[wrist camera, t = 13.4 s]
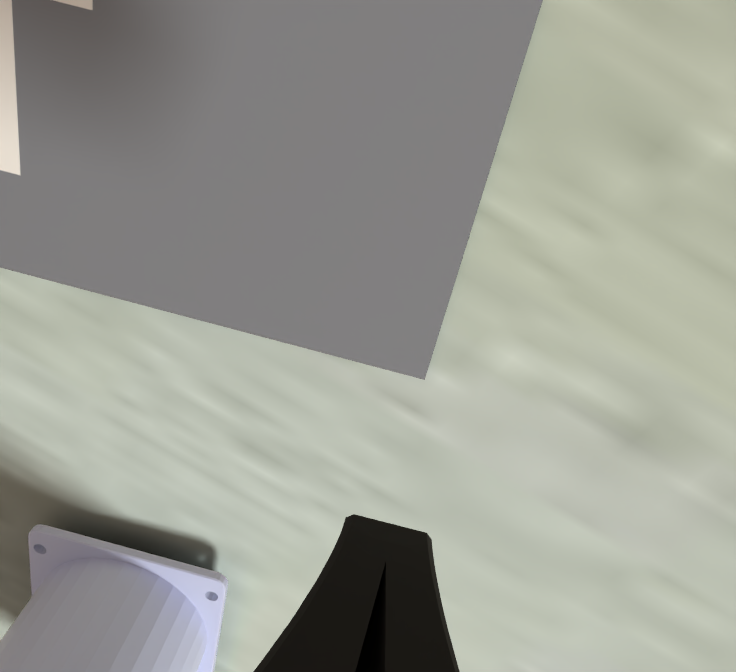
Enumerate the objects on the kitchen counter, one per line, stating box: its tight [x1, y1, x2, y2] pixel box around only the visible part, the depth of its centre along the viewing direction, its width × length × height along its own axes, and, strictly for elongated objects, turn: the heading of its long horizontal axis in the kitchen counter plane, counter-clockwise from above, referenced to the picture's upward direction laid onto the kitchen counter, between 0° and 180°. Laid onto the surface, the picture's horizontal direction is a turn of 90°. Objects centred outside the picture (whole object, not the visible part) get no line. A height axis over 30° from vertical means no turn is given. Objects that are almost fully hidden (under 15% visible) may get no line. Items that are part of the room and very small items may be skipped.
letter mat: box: [0, 0, 543, 380], centre depth 19 cm, size 11×18×1 cm, turn 78°
